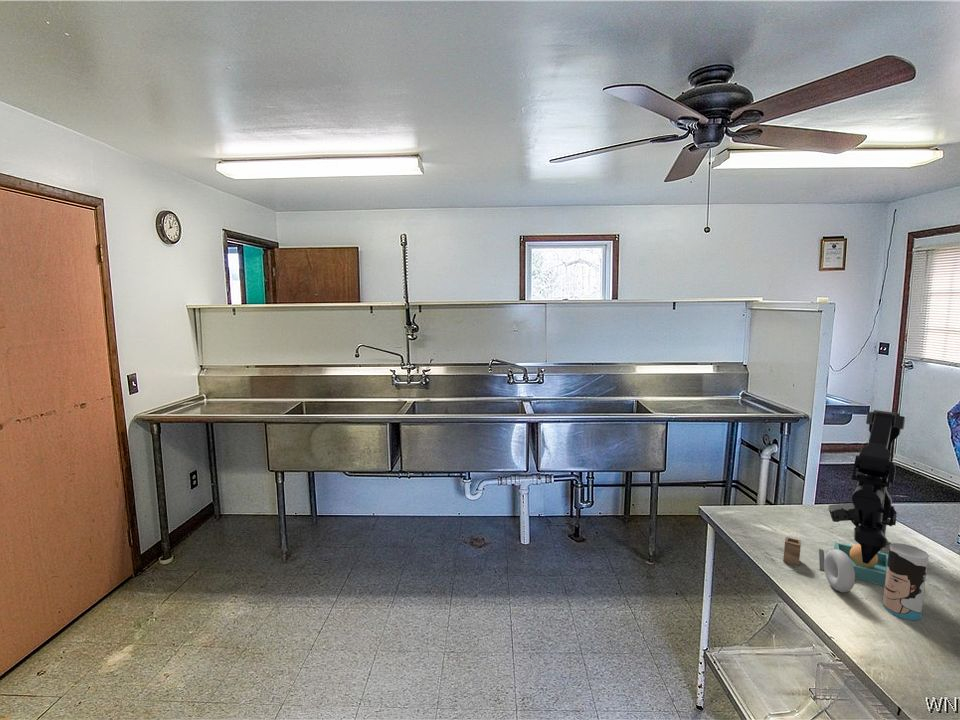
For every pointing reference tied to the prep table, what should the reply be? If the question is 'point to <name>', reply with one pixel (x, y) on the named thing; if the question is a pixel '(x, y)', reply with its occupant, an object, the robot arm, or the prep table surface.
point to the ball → (857, 557)
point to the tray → (868, 574)
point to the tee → (792, 551)
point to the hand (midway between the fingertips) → (863, 555)
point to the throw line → (821, 559)
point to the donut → (839, 570)
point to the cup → (905, 581)
